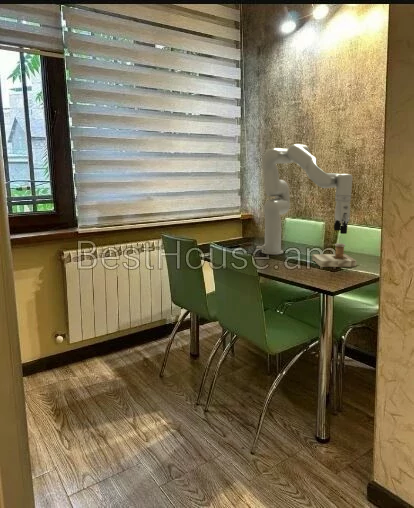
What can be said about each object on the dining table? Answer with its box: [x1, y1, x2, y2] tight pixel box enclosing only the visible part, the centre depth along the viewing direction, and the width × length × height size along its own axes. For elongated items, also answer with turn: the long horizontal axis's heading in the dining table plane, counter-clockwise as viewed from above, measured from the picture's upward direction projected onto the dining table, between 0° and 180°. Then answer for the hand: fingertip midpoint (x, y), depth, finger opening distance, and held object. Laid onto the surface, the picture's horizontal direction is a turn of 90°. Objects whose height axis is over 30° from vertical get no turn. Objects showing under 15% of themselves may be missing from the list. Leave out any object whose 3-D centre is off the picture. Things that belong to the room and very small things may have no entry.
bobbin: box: [334, 242, 346, 259], centre depth 213 cm, size 5×5×10 cm
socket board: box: [311, 253, 358, 268], centre depth 214 cm, size 18×16×3 cm
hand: (340, 231), depth 211 cm, fingers open, 9 cm apart
